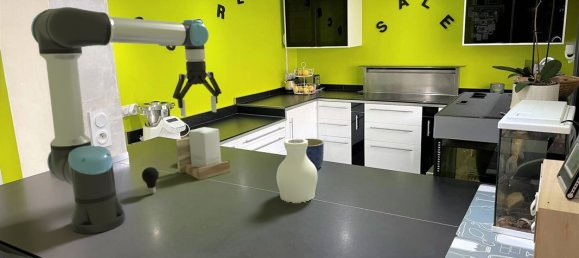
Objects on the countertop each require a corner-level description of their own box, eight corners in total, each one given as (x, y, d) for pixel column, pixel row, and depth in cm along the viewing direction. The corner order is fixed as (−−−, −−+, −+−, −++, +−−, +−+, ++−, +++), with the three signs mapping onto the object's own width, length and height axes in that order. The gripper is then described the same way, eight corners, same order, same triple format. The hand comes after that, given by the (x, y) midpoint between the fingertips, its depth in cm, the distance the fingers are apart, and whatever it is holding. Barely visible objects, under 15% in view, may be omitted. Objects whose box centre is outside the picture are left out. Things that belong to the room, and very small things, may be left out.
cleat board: (234, 170, 180) (232, 138, 177) (194, 180, 169) (192, 146, 166) (216, 163, 191) (214, 132, 188) (178, 172, 180) (175, 139, 177)
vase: (292, 186, 159) (290, 134, 155) (325, 194, 151) (325, 138, 147) (268, 199, 148) (266, 143, 144) (303, 207, 140) (301, 148, 136)
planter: (305, 161, 190) (304, 137, 188) (329, 165, 183) (329, 140, 181) (288, 168, 181) (288, 143, 178) (313, 173, 173) (313, 147, 171)
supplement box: (222, 163, 180) (219, 128, 177) (206, 169, 173) (203, 133, 170) (206, 160, 185) (204, 126, 182) (190, 165, 178) (188, 130, 175)
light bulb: (163, 193, 157) (161, 167, 154) (149, 198, 152) (146, 171, 150) (155, 189, 160) (152, 164, 158) (140, 194, 156) (137, 167, 154)
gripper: (218, 58, 179) (221, 109, 183) (161, 61, 163) (165, 116, 168) (228, 59, 173) (230, 111, 177) (169, 62, 158) (173, 119, 162)
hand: (199, 114), depth 173 cm, fingers open, 13 cm apart
